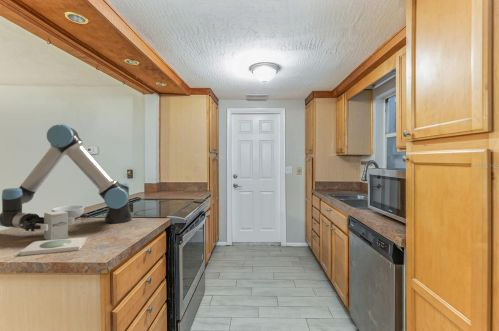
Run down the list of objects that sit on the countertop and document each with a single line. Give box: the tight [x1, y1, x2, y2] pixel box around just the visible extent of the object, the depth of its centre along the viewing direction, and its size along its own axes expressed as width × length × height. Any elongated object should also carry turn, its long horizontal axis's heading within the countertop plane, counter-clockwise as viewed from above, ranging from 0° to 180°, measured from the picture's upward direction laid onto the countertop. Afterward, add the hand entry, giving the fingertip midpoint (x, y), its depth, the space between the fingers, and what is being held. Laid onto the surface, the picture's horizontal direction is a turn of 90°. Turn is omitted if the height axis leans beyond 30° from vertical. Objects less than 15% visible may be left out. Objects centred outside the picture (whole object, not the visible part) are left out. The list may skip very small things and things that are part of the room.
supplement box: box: [43, 211, 69, 241], centre depth 127 cm, size 7×7×13 cm
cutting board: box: [19, 236, 87, 256], centre depth 114 cm, size 20×14×2 cm
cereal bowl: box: [51, 205, 85, 219], centre depth 168 cm, size 17×17×7 cm
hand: (61, 224), depth 126 cm, fingers open, 13 cm apart
